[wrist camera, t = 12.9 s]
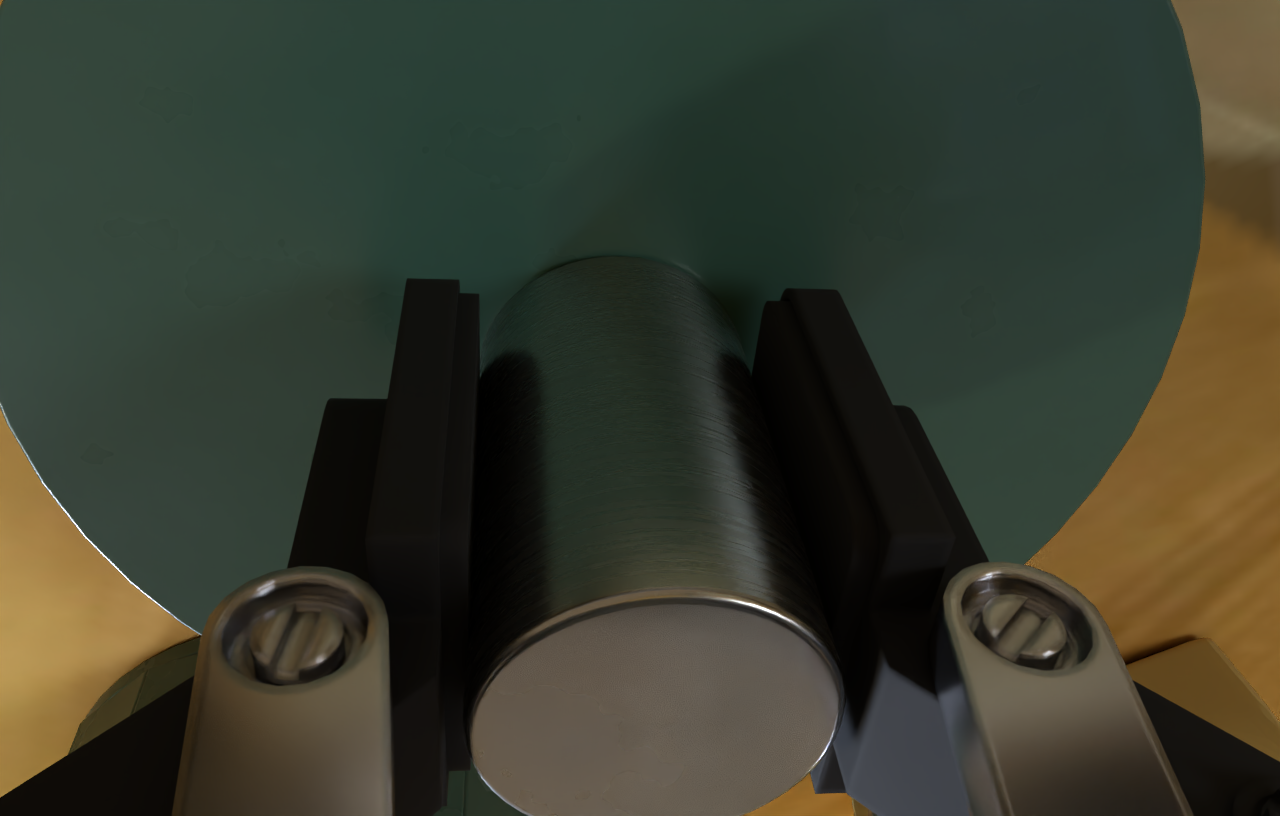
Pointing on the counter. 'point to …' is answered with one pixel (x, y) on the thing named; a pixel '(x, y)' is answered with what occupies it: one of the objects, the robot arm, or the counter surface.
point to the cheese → (1203, 694)
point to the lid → (588, 311)
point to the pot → (469, 801)
